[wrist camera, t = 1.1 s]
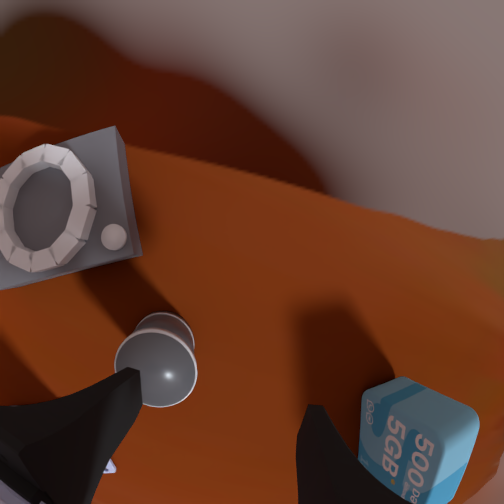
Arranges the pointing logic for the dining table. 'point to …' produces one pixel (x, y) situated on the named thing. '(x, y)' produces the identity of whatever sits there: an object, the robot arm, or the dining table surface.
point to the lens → (161, 358)
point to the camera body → (66, 209)
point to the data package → (416, 440)
